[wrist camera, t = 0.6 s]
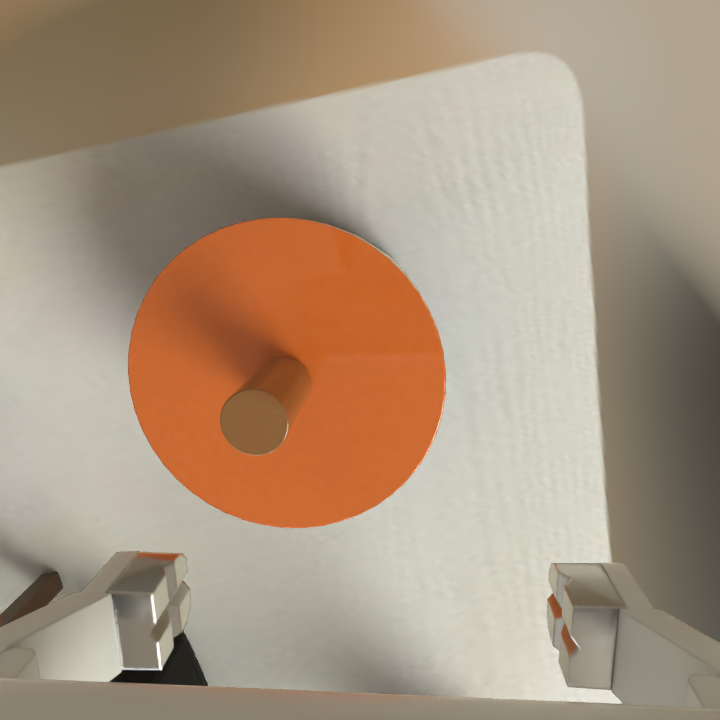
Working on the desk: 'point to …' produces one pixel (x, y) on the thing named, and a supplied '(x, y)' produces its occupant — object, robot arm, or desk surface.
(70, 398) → the desk surface
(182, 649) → the film camera
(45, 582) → the rack
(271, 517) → the lid
